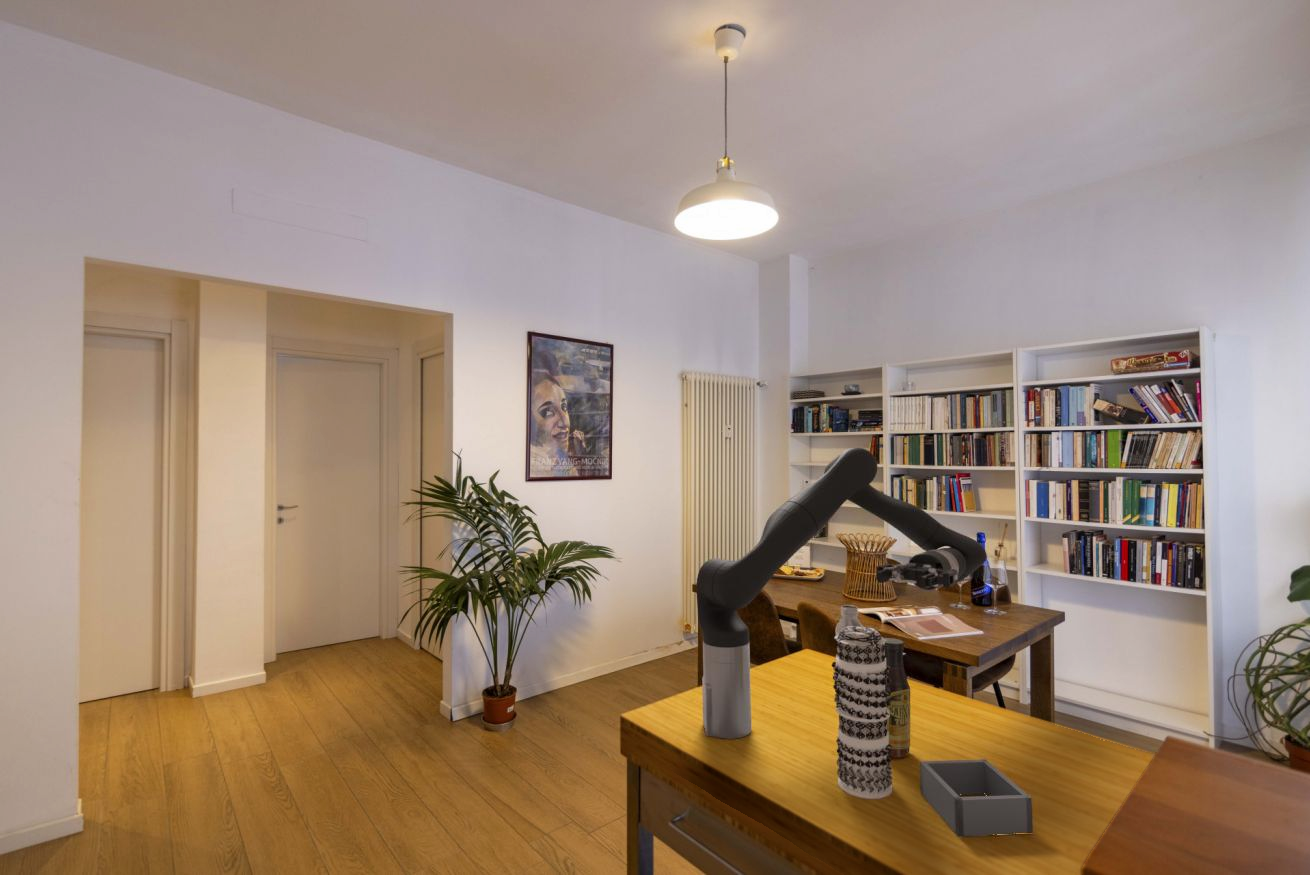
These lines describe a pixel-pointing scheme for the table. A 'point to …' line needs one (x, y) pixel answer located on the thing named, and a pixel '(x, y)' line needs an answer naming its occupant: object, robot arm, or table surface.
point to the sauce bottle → (898, 700)
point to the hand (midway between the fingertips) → (901, 579)
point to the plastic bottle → (847, 619)
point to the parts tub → (975, 798)
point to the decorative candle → (862, 713)
